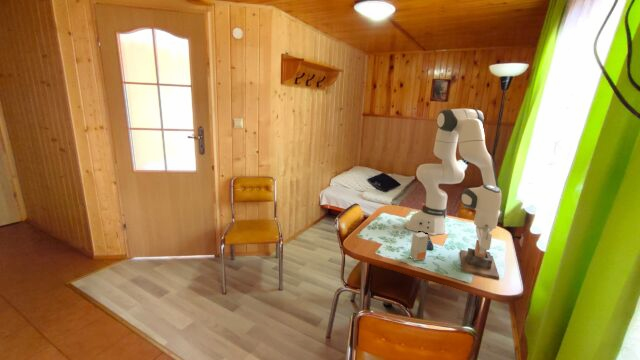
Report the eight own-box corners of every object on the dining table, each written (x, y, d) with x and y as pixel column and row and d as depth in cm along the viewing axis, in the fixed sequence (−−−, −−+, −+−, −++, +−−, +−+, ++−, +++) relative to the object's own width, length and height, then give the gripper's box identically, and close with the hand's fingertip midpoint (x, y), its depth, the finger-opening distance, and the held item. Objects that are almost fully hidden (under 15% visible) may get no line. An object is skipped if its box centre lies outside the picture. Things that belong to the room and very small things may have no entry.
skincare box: (415, 261, 138) (418, 237, 135) (409, 256, 141) (412, 233, 139) (425, 259, 140) (429, 235, 137) (419, 254, 144) (422, 231, 141)
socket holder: (462, 271, 130) (464, 260, 129) (460, 252, 148) (461, 242, 147) (498, 279, 125) (501, 268, 124) (492, 258, 143) (494, 248, 142)
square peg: (474, 259, 135) (477, 243, 133) (473, 255, 138) (476, 239, 136) (484, 261, 133) (487, 245, 131) (483, 257, 137) (486, 241, 135)
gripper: (497, 231, 121) (491, 262, 124) (490, 215, 139) (485, 242, 143) (480, 228, 123) (474, 259, 127) (475, 213, 142) (471, 240, 145)
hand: (480, 250), depth 135 cm, fingers closed on square peg, 4 cm apart
